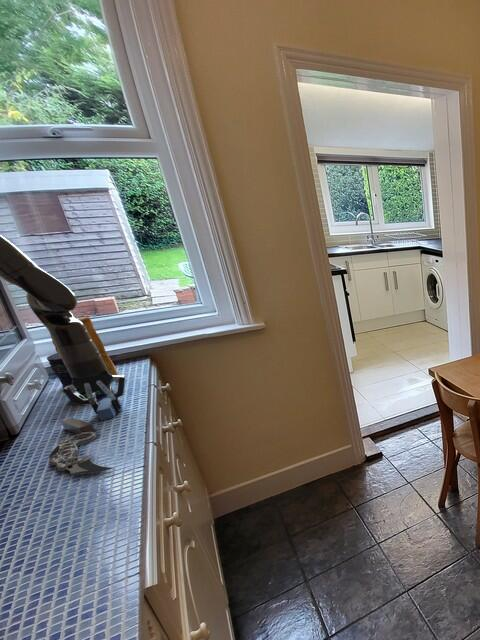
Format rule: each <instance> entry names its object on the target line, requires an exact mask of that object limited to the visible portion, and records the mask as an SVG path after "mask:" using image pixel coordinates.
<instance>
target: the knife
mask: <svg viewBox="0 0 480 640" xmlns="http://www.w3.org/2000/svg"><path fill="white" fill-rule="evenodd" d="M96 438H97V435H96V433H95V432H84V433H79V434H77V433H74V434H73V435H72V436H70V437H68V438H66V439H64V440H62V441H60V442H59V443H57V446H56V447H55V448H53V449H52V451H51V452H50V454H49V455H48V459H47V461H48V463H49V465H53V466H56V469H57V470H58V471H63V472H65V471H69V472H70V473H69V474H70V475H85V474H86V475H87V474H95V473H101V472H105V471H108V470H109V471H110V470H112V469H114V467H113V466H112V467H110V466H103V465H100V464H97V463H95V462H93V460H92V459H91V457H90V455H88V454H85V455H77V454H78V453H79V451H80V449H79V448H78V446H80V445H83V444H87V443H90V442H92V441H93V440H95V439H96Z"/></svg>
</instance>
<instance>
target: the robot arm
mask: <svg viewBox="0 0 480 640" xmlns="http://www.w3.org/2000/svg"><path fill="white" fill-rule="evenodd" d="M0 279H2V280H4V281H5V282H7V283H9V284H10V285H13V286H17V287H19V288H20V289H22V291H24V292H25V293H26V301H27V304H28V306H29V308H30V309H31V311H32V313H34V315H35V317H37V319H38V320H39V321H40V322H41V324H42V325H43V326H44V327H45V328H46V329H47V331H48V333H49V336H50V338H51V337H52V339H53V341H54V343H55V344H56V346H57V349H58V352H59V355H60V357H61V360H62V361H63V362H64V364H65V366H66V368H67V370H68V372H69V374H70V375H71V377H72V380H73V381H72V384H71V385H69V386H66V387H65V388H64V389H63V388H62V393H64V394H65V396H66V395H68V396H69V397H71V398H72V399H74V400H75V401H76V402H78V403H79V404H78V405H81V406H82V405H83V406H85V405H89V406H91V408H92V410H93V412H94V414H96V415H98V414H97V412H96V411H97V408H98V406H99V404H100V402H99V401H98V400H96V396H95V392H97V391H103V392H104V393H105V394H106V395H107V398H110V399H111V403H112V405H113V407H114V409H115V411H116V413H117V412H120V410H121V409H122V404H121V402H120V400H119V398H120V397H123V395H124V392H125V385H126V378H127V377H126V375H125V374H121V375H118V376H116V375H113V374H112V373H110V372H109V371H108V369H107V367H106V365H105V363H104V361H103V359H102V357H101V355H100V353H99V351H98V349H97V347H96V345H95V344H94V342H93V341H92V339H91V337H90V335H89V333H88V331H87V329H86V327H85V325H84V324H83V323H82V322H81V321H79V320H78V318H76V317H75V316H74V315H73V313H72V311H73V310H75V309H76V308H77V305H78V299H77V296H76V294H75V293H74V292H73V291H72V290H71V289H70V288H69V287H68V286H67V285H65V284H64V283H63V282H61V281H60V280H58V279H57V278H56V277H54V276H53V275H51V274H49V273H48V272H47V271H45V270H44V269H42V268H40V267H39V266H38V265H37V264H36V263H35V262H34V261H33V260H31V258H29V257H28V255H26V254H25V253H23V251H21V250H20V249H19V248H18V247H17V246H16V245H14V244H13V243H12V242H10V240H8V239H7V238H5V237H4V236H2V235H1V234H0ZM52 339H51V340H52ZM53 341H52V342H53ZM112 379H113V380H114V382H115V383H116V384H118V385H117V391H116V392H115V391H114V390H113V388H112V386H111V383H112V381H113V380H112ZM75 387H77V388H79V389H81V390H83V391H85V392H86V394H87V398H88V399H86V398H85V397H83V396H82V395H80V394H79V393H78V392H76V390H77V389H76V388H75ZM68 396H67V397H68Z"/></svg>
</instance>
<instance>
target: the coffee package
mask: <svg viewBox="0 0 480 640" xmlns="http://www.w3.org/2000/svg"><path fill="white" fill-rule="evenodd" d="M77 320H79V321H81V322H82V323H83V324H84V325H85V327H86V329H87V331H88V333H89V335H90V337H91V339H92V341H93V342H94V344H95V345H96V347H97V349H98V351H99V353H100V355H101V357H102V359H103V361H104V363H105V365H106V367H107V369H108V371H109V372H110V373H112V374H113V375H116V376H119V373H118V371H117V367H116V366H115V364H114V362H113V360H112V359H111V357H110V356H109V355H108V352H107V350H106V348H105V345H104V344H103V341H102V340H101V338H100V336H99V334H98V333H97V330H96V329H95V328H94V324H93V321H92V319H91V318H90V317H89V316H85V317H81V318H77ZM50 339H51V341H52V344H53V346H54V347H55V351H56V353H59V352H58V349H57V346H56V344H55V343H54V341H53V339H52V337H51V336H50ZM113 380H114V379H112V381H113Z"/></svg>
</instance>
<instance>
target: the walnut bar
mask: <svg viewBox="0 0 480 640" xmlns="http://www.w3.org/2000/svg"><path fill="white" fill-rule="evenodd" d="M60 423H61V425H62V426H63V428H64V430H65V431H68V432H71V433H74V434H79V433H84V432H94V433H95V432H96V430H95V428H94V426H93V425H92V423H91V422H89V421H84V420H81V419H78V418H75V417H70V418H67V419H64V420H61V421H60Z"/></svg>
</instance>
